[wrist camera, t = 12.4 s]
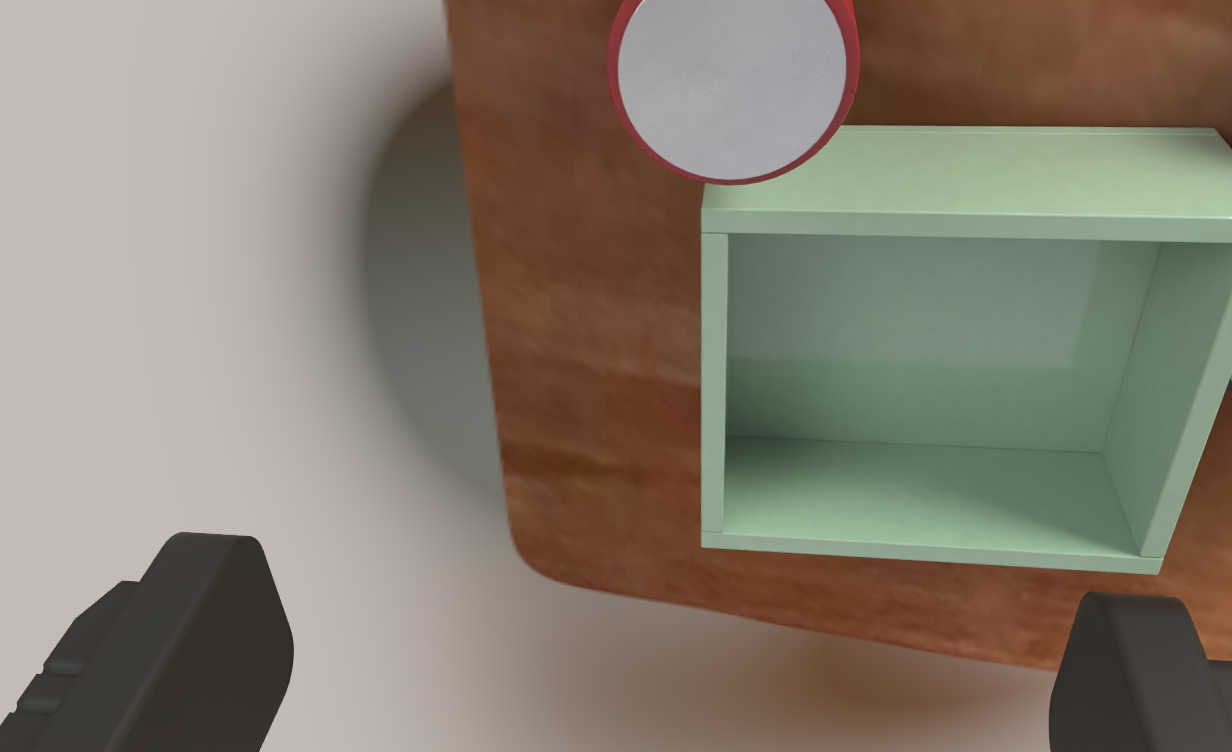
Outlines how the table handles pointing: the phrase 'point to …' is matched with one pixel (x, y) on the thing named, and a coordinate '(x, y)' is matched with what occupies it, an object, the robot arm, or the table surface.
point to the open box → (967, 345)
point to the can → (732, 82)
